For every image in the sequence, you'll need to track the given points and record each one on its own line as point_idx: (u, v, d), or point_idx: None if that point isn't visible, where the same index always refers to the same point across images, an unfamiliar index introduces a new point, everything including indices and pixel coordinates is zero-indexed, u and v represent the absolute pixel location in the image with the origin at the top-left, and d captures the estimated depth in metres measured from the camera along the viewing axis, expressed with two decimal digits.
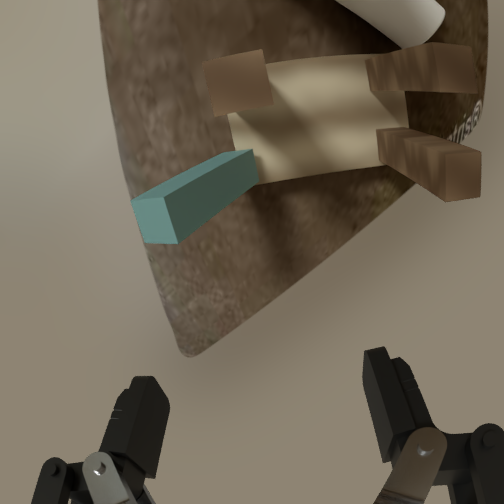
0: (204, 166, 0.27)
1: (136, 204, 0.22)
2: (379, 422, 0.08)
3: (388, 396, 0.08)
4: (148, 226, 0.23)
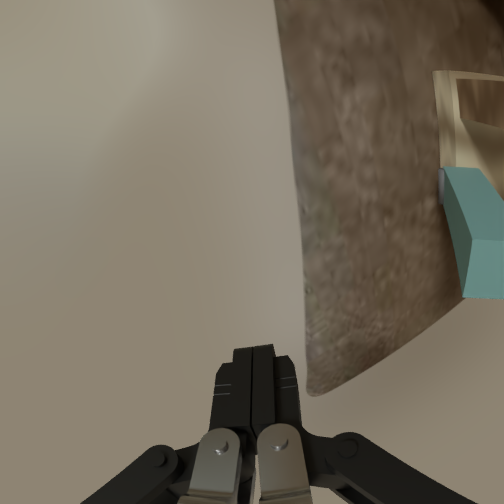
0: (472, 188, 0.18)
1: (481, 245, 0.12)
2: None
3: (258, 389, 0.09)
4: (484, 276, 0.13)
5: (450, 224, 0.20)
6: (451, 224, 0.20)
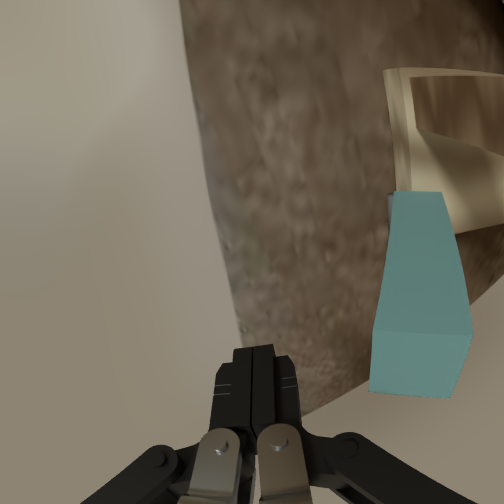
0: (418, 227, 0.15)
1: (388, 338, 0.10)
2: None
3: (258, 389, 0.09)
4: (397, 373, 0.10)
5: None
6: None
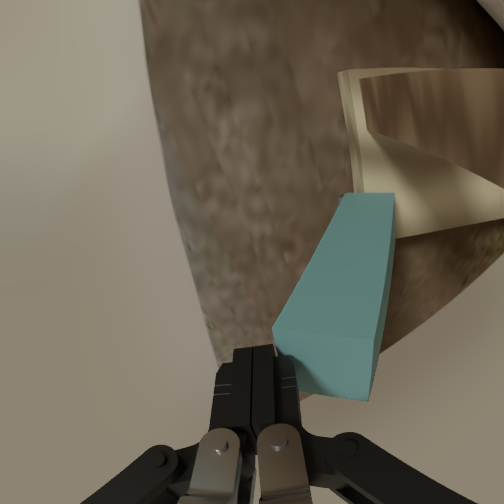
0: (355, 229, 0.16)
1: (288, 337, 0.11)
2: None
3: (258, 389, 0.09)
4: (306, 372, 0.11)
5: None
6: None
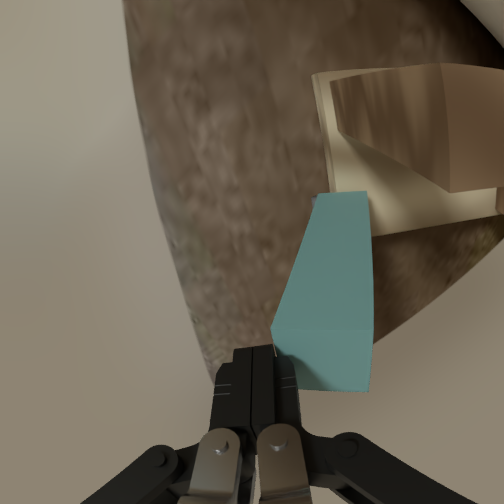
0: (334, 228, 0.17)
1: (287, 336, 0.11)
2: None
3: (258, 389, 0.09)
4: (306, 369, 0.11)
5: None
6: None
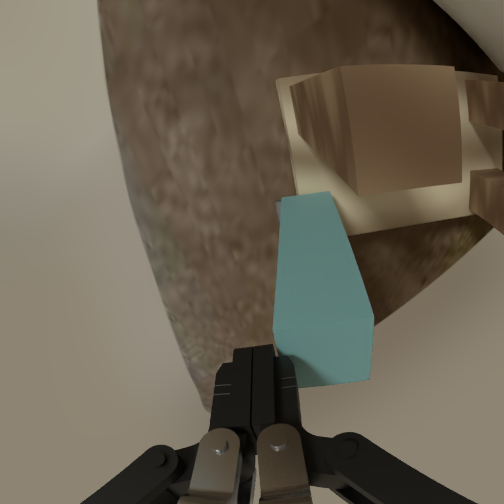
0: (307, 228, 0.17)
1: (289, 335, 0.11)
2: None
3: (258, 389, 0.09)
4: (308, 366, 0.12)
5: None
6: None
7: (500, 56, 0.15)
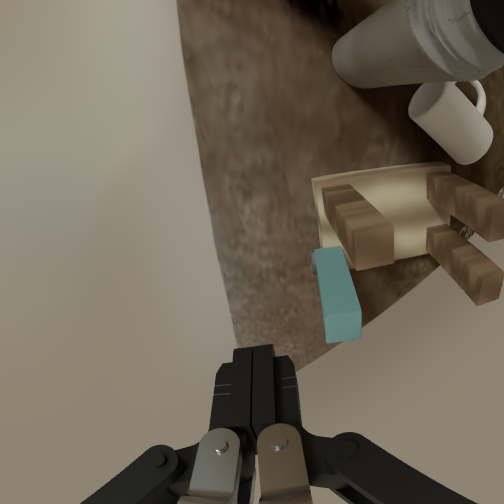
0: (331, 270, 0.35)
1: (330, 318, 0.28)
2: None
3: (258, 389, 0.09)
4: (336, 331, 0.29)
5: None
6: None
7: (452, 155, 0.33)
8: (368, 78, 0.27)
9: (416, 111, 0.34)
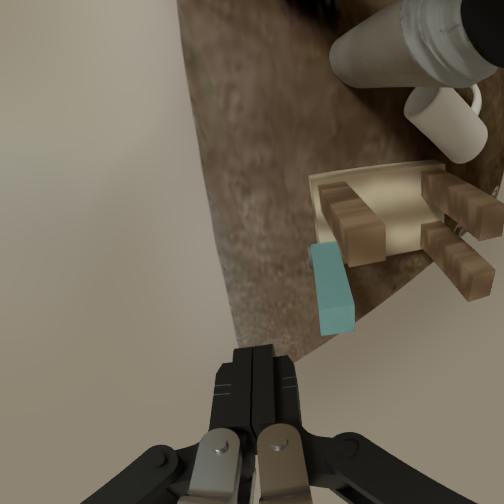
0: (327, 265, 0.37)
1: (324, 311, 0.30)
2: None
3: (258, 389, 0.09)
4: (330, 324, 0.31)
5: None
6: None
7: (447, 154, 0.34)
8: (364, 80, 0.28)
9: (412, 111, 0.35)
